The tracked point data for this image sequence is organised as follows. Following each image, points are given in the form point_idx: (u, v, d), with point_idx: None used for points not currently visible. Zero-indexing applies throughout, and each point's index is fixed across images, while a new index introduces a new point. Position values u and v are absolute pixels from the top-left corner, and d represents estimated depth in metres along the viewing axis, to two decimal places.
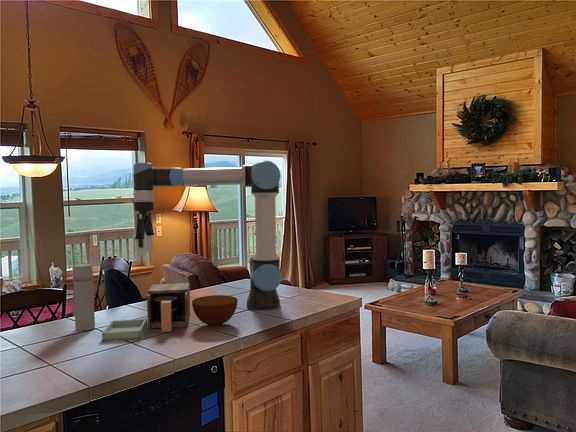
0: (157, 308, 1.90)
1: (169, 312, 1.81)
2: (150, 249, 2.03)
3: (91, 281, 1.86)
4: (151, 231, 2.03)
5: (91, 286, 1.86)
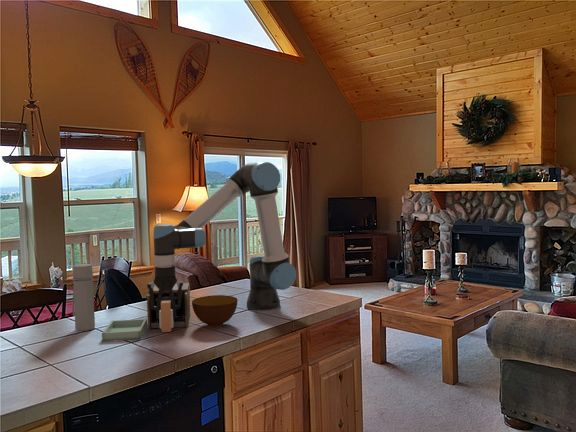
0: None
1: (169, 312, 1.81)
2: (171, 325, 1.83)
3: (91, 281, 1.86)
4: (172, 304, 1.82)
5: (91, 286, 1.86)
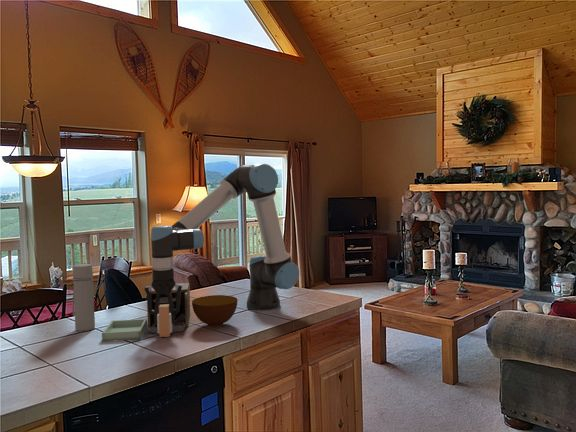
0: None
1: (167, 316, 1.75)
2: None
3: (91, 281, 1.86)
4: (171, 308, 1.76)
5: (91, 286, 1.86)
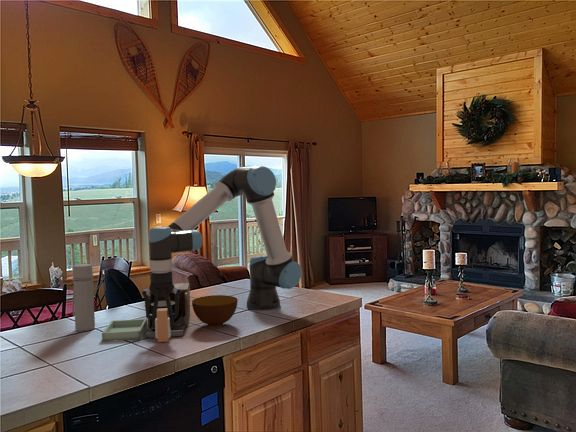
0: None
1: (166, 321, 1.70)
2: (168, 334, 1.71)
3: (91, 281, 1.86)
4: (169, 312, 1.70)
5: (91, 286, 1.86)
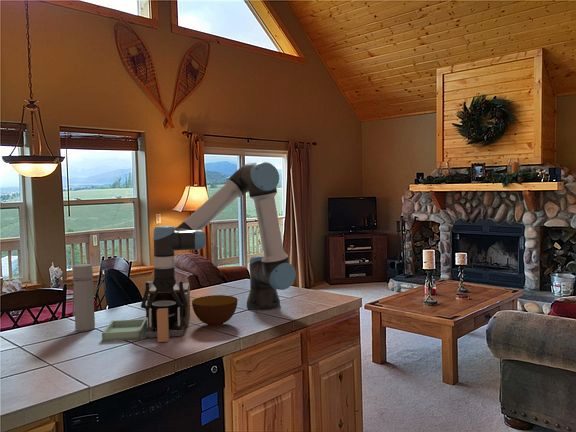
0: (154, 313, 1.82)
1: (166, 321, 1.70)
2: None
3: (91, 281, 1.86)
4: (178, 303, 1.83)
5: (91, 286, 1.86)
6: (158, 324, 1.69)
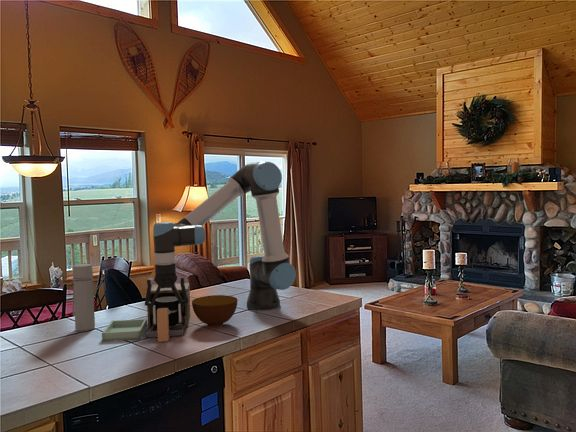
0: None
1: (166, 320, 1.70)
2: (179, 320, 1.84)
3: (91, 281, 1.86)
4: (179, 300, 1.83)
5: (91, 286, 1.86)
6: (158, 324, 1.70)
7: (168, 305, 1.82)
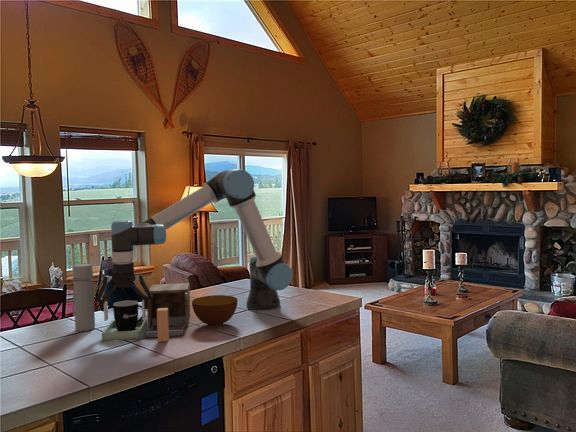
0: (115, 314, 1.79)
1: (166, 320, 1.70)
2: None
3: (91, 281, 1.86)
4: (142, 296, 1.80)
5: (91, 286, 1.86)
6: (158, 324, 1.70)
7: (125, 309, 1.79)
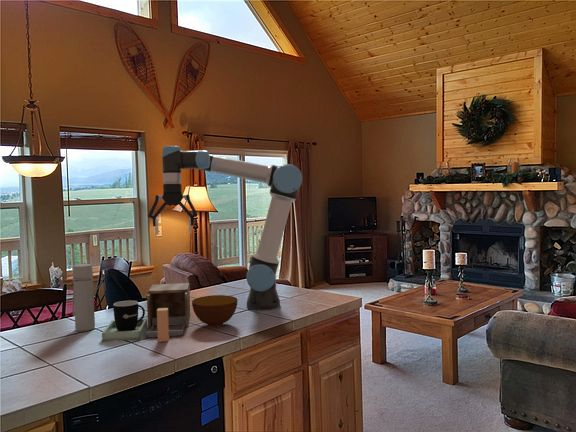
0: (115, 314, 1.79)
1: (166, 320, 1.70)
2: (189, 231, 2.04)
3: (91, 281, 1.86)
4: (188, 213, 2.03)
5: (91, 286, 1.86)
6: (158, 324, 1.70)
7: (125, 309, 1.79)
